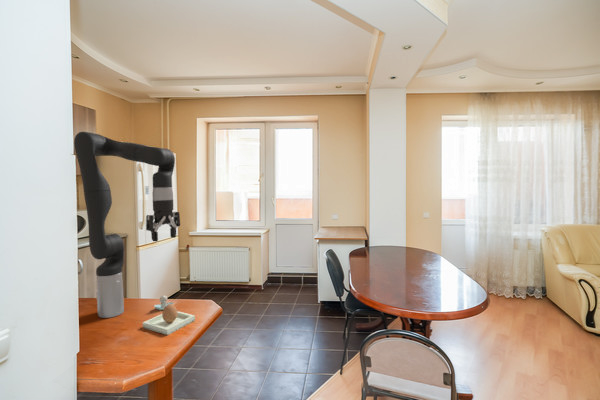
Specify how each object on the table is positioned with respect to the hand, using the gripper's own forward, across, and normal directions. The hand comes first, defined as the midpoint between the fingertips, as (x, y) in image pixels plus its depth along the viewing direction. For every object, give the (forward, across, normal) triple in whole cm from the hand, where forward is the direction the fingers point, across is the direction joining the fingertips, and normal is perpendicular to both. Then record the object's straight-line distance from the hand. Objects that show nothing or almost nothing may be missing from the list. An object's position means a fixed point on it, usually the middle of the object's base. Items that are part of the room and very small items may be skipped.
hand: (164, 239), depth 126 cm
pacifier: (+32, -5, -8) cm, 34 cm away
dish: (+32, +4, +6) cm, 33 cm away
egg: (+32, +4, +6) cm, 32 cm away
